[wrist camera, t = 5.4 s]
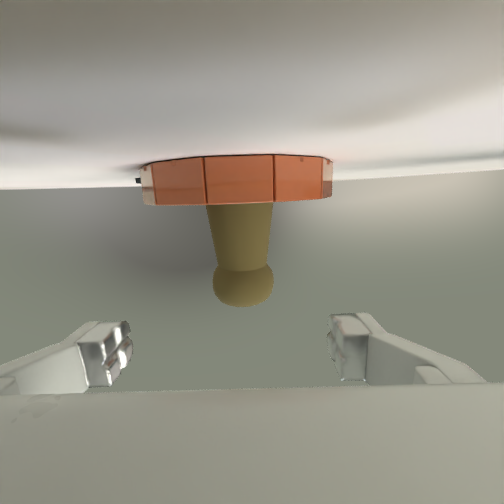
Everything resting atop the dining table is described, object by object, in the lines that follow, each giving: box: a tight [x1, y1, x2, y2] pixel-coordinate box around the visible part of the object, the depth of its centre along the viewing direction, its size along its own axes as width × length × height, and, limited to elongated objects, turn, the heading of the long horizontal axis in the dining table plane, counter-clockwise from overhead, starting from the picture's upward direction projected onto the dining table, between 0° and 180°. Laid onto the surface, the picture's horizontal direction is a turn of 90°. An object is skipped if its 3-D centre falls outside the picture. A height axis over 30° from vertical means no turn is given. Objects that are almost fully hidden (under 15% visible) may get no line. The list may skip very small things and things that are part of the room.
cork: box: [206, 202, 274, 307], centre depth 21 cm, size 6×6×11 cm
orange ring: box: [140, 155, 333, 205], centre depth 20 cm, size 14×14×2 cm
